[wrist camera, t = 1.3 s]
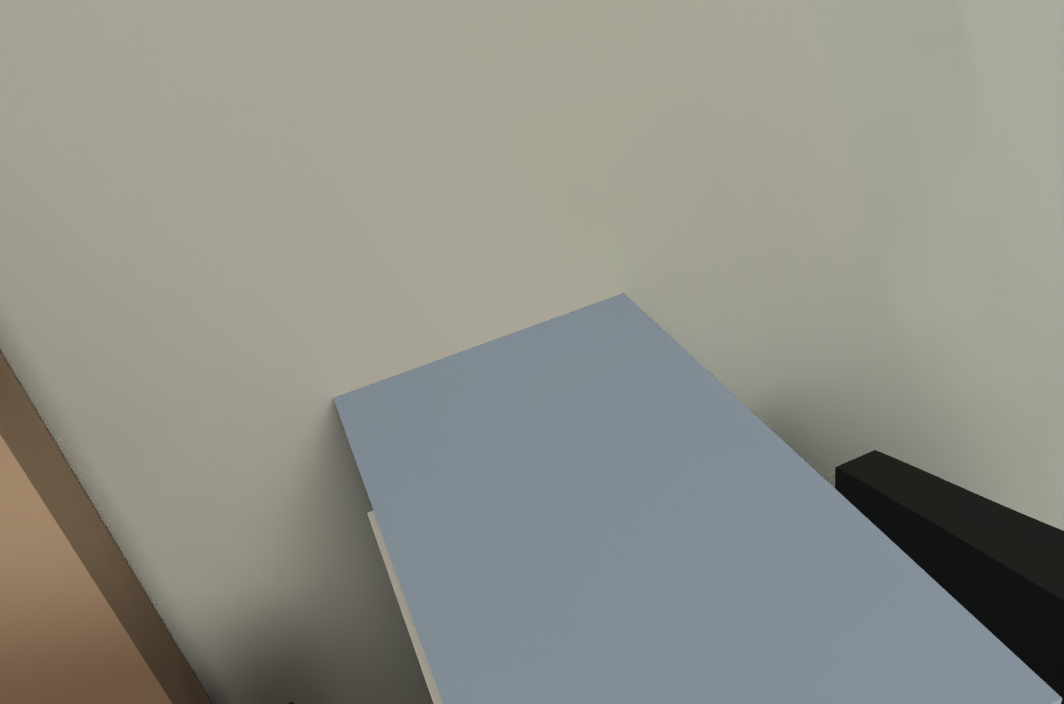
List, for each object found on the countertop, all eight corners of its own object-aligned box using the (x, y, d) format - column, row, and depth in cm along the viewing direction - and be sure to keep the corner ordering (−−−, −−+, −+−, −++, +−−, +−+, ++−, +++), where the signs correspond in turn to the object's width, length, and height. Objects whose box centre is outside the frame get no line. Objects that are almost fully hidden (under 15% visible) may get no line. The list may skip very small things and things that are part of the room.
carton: (622, 291, 12) (1062, 698, 6) (665, 596, 15) (980, 1045, 10) (326, 399, 11) (528, 980, 5) (438, 697, 14) (637, 1258, 9)
